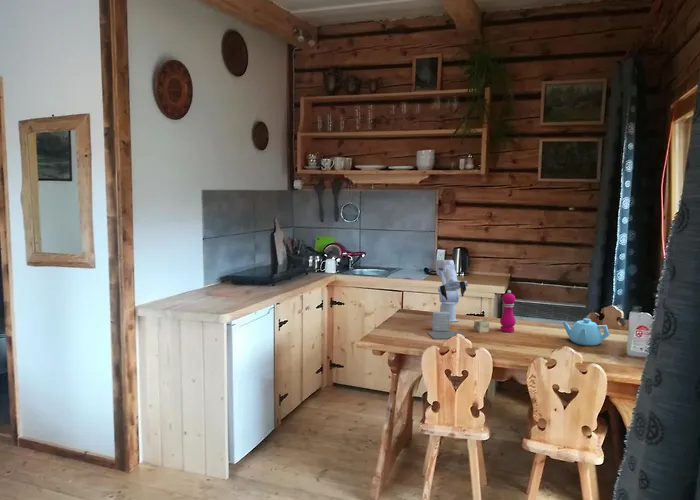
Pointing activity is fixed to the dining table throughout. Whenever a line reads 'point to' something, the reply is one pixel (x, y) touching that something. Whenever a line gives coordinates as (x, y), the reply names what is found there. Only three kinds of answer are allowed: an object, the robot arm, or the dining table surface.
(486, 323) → the beech block
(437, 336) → the mat
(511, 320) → the pepper mill
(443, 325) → the medicine box
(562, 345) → the dining table surface
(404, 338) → the dining table surface
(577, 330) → the teapot
